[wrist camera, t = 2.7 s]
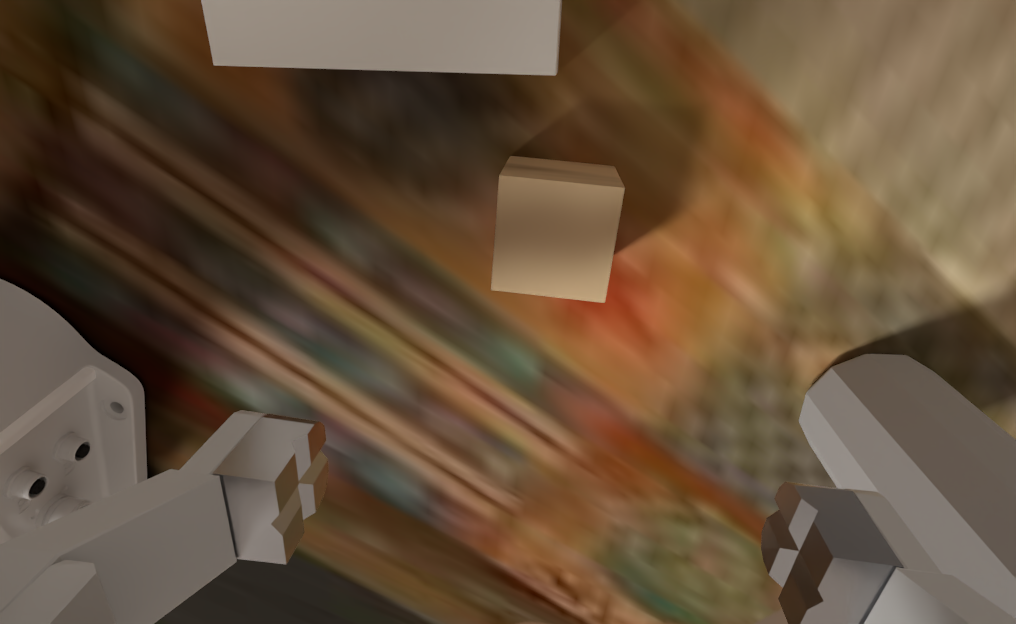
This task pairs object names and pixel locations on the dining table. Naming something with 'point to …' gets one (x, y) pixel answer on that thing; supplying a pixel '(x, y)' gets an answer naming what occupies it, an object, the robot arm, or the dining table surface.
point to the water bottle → (923, 463)
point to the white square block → (387, 35)
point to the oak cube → (556, 228)
